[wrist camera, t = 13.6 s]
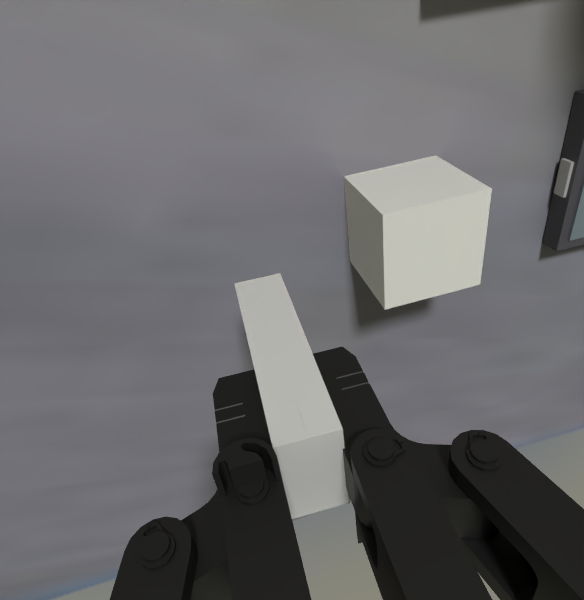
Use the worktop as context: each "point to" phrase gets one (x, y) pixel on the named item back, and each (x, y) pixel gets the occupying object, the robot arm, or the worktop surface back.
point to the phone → (569, 186)
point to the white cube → (416, 229)
